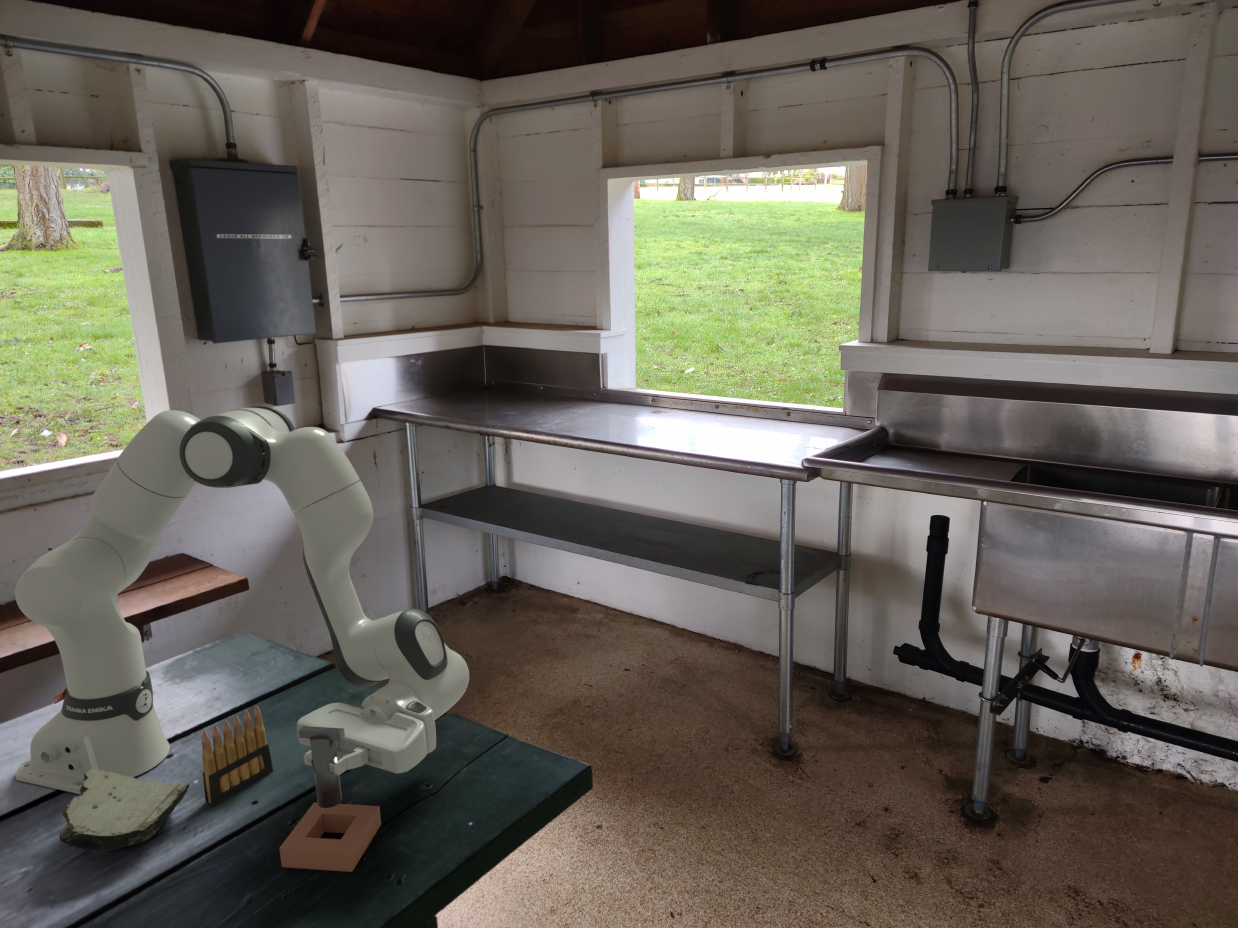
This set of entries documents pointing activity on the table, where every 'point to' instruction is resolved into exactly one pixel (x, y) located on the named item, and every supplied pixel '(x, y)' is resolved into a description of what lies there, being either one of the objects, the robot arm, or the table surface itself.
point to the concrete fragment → (118, 810)
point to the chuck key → (324, 762)
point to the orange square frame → (331, 853)
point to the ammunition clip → (235, 758)
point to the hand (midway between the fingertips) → (320, 765)
